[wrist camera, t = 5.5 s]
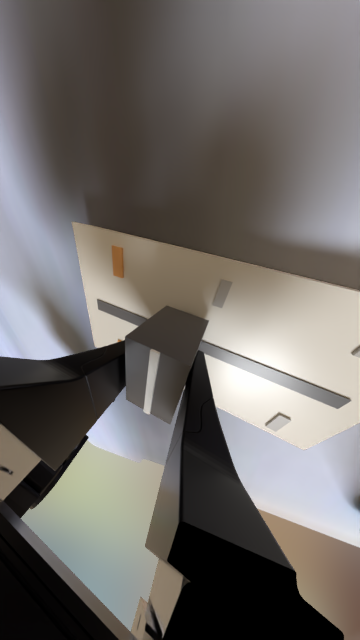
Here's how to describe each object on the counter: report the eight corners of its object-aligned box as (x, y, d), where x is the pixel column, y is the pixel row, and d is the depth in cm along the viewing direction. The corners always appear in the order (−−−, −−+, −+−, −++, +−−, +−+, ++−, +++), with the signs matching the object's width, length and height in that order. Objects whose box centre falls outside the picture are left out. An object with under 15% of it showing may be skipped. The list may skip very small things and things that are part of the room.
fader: (190, 371, 11) (169, 426, 7) (158, 356, 11) (125, 400, 8) (209, 320, 8) (190, 368, 5) (166, 305, 9) (123, 338, 5)
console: (294, 423, 12) (305, 452, 11) (108, 337, 17) (93, 347, 15) (456, 313, 6) (544, 337, 4) (96, 226, 11) (69, 221, 9)
